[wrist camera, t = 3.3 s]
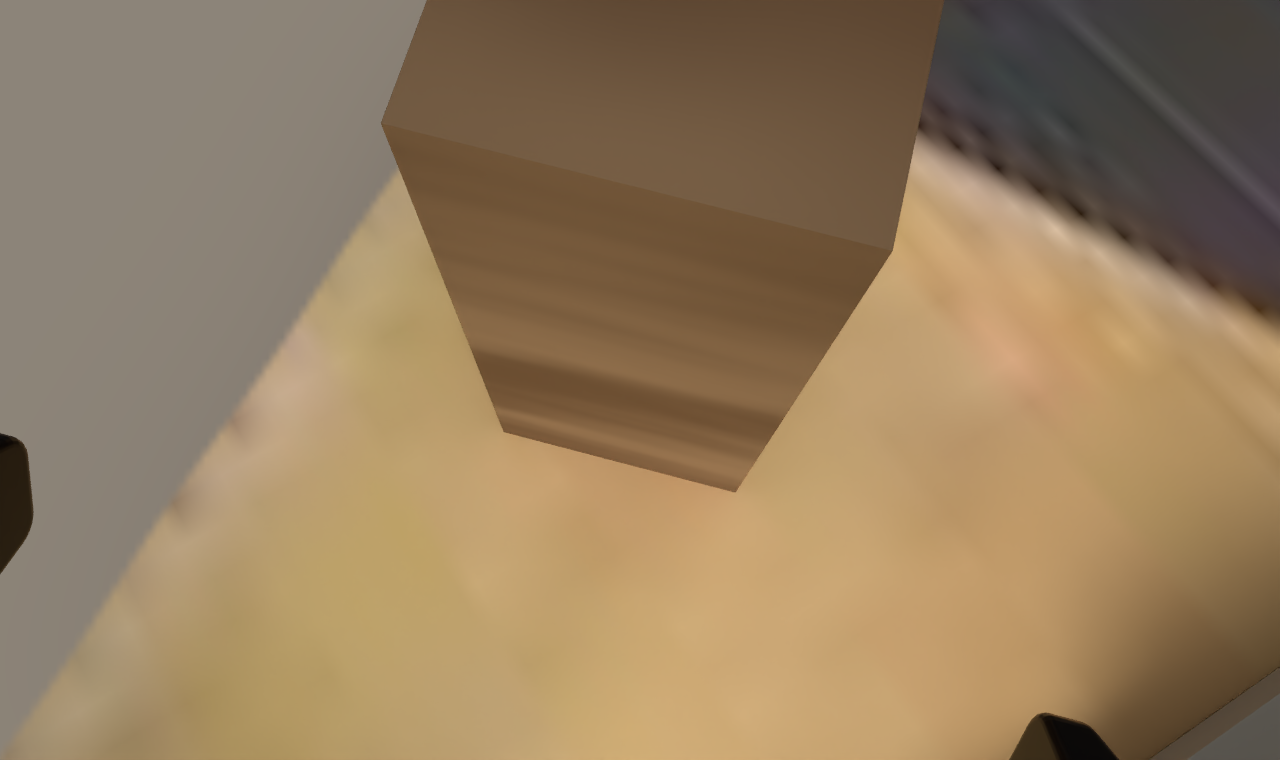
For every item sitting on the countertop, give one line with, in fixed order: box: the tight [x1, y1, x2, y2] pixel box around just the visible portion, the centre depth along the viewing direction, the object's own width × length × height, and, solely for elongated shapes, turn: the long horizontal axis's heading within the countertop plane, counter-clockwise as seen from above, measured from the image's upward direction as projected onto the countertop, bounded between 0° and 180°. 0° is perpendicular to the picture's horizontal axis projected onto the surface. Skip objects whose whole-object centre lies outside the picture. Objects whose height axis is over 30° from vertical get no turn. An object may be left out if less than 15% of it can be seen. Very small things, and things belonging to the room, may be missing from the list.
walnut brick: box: [381, 0, 944, 492], centre depth 17 cm, size 5×5×12 cm
